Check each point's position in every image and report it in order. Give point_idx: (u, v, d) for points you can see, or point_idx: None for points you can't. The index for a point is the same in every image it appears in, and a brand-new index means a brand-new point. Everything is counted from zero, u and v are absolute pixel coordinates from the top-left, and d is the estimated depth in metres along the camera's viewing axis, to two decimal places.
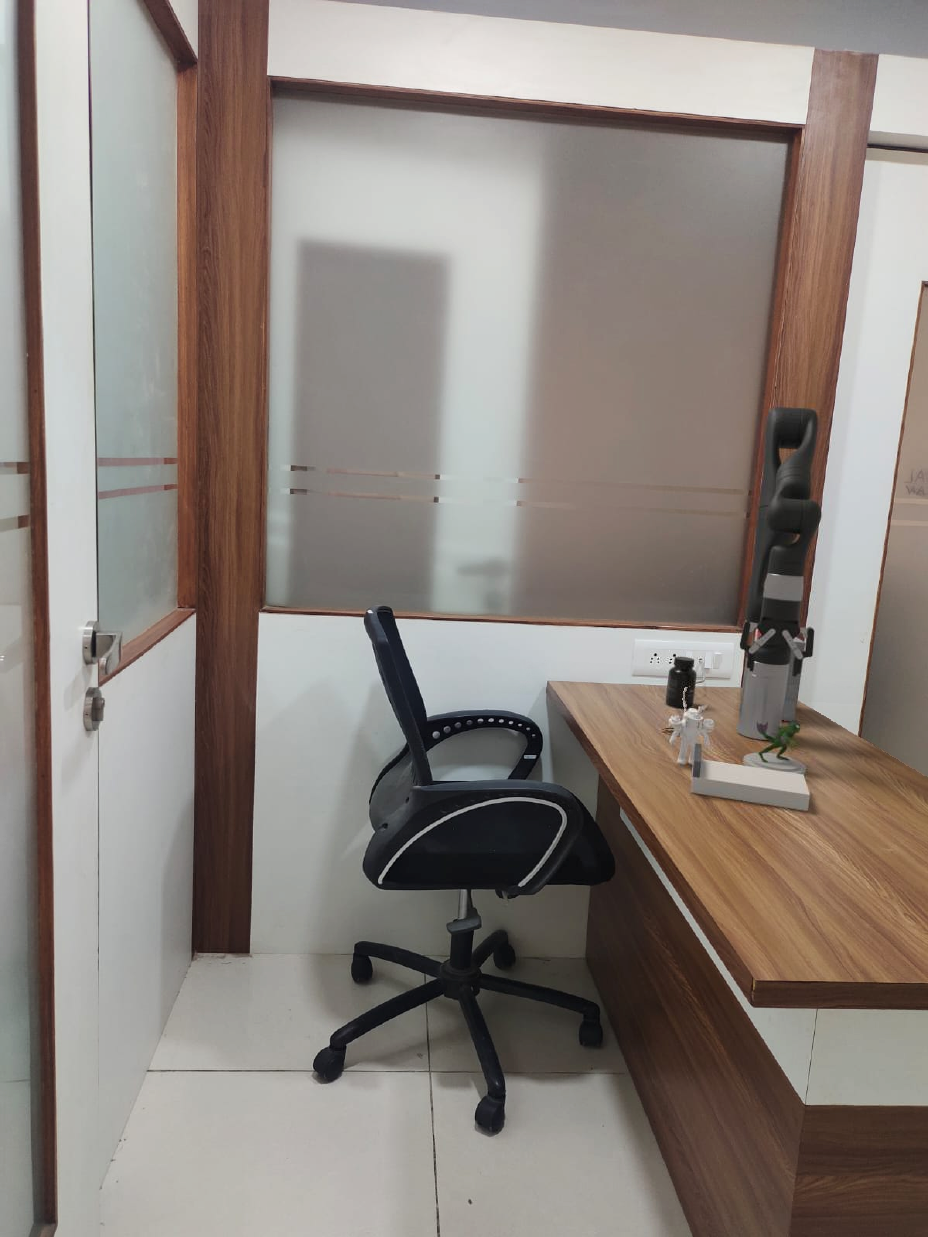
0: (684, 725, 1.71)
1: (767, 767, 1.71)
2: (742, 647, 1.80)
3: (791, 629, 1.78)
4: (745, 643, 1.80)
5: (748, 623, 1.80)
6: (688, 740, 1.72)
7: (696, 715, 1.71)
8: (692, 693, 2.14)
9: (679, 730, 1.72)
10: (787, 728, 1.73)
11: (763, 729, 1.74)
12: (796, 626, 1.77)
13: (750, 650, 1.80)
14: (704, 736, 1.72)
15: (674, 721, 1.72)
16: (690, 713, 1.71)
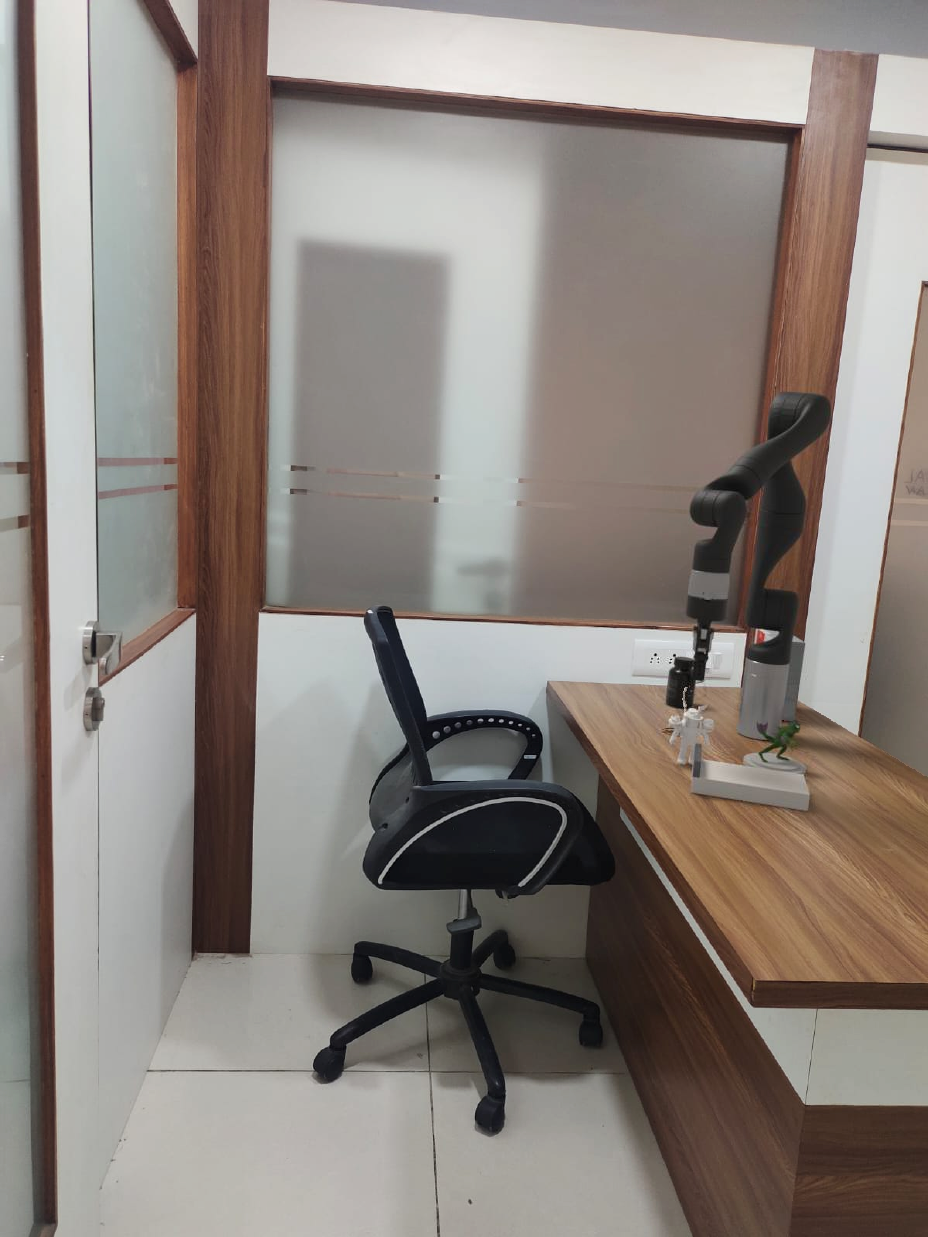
0: (684, 725, 1.71)
1: (767, 767, 1.71)
2: (707, 658, 1.63)
3: None
4: None
5: None
6: (688, 740, 1.72)
7: (696, 715, 1.71)
8: (692, 693, 2.14)
9: (679, 730, 1.72)
10: (787, 728, 1.73)
11: (763, 729, 1.74)
12: None
13: None
14: (704, 736, 1.72)
15: (674, 721, 1.72)
16: (690, 713, 1.71)
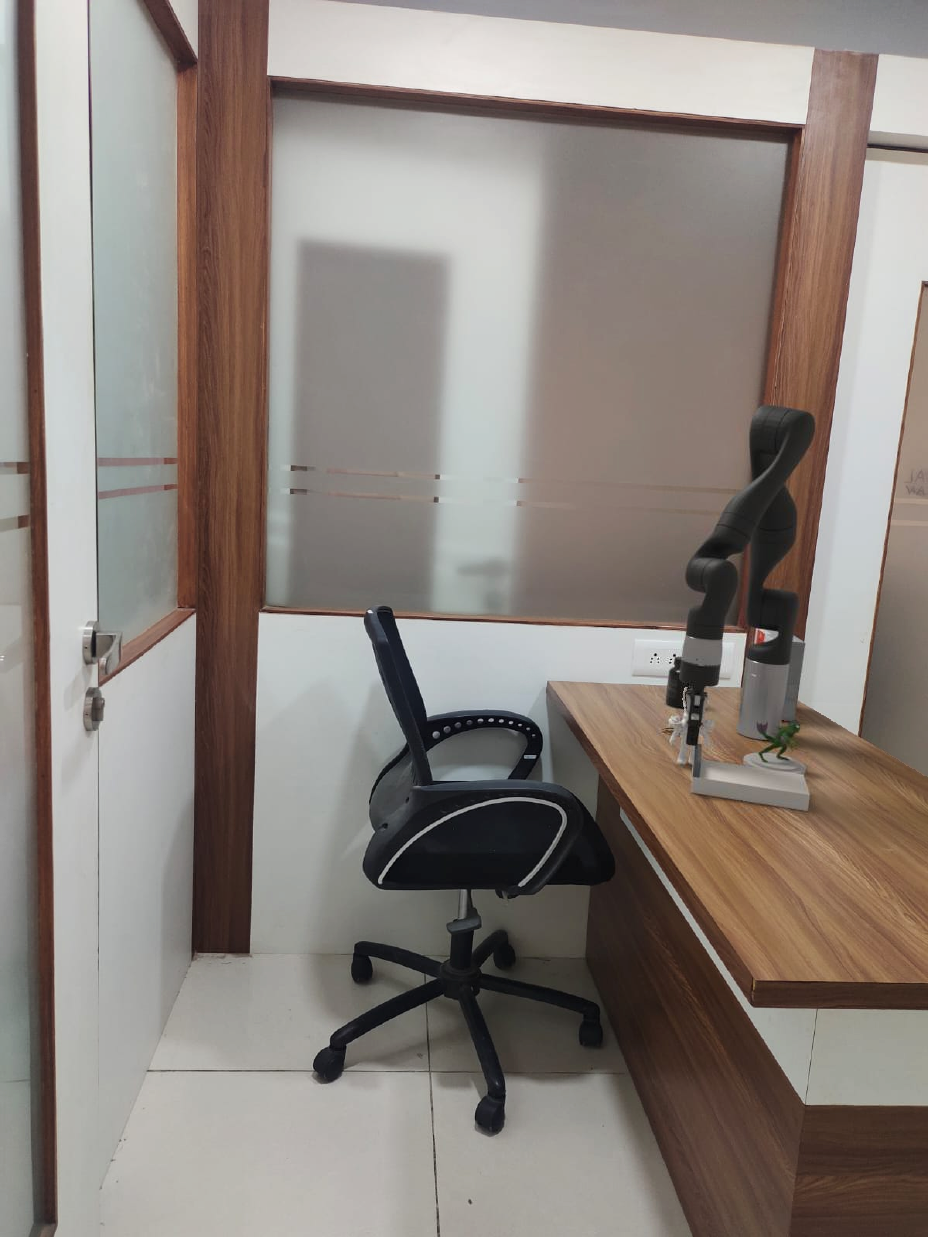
0: (684, 725, 1.71)
1: (767, 767, 1.71)
2: (701, 724, 1.65)
3: None
4: None
5: None
6: None
7: None
8: None
9: (679, 730, 1.72)
10: (787, 728, 1.73)
11: (763, 729, 1.74)
12: None
13: None
14: (704, 736, 1.72)
15: (674, 721, 1.72)
16: None
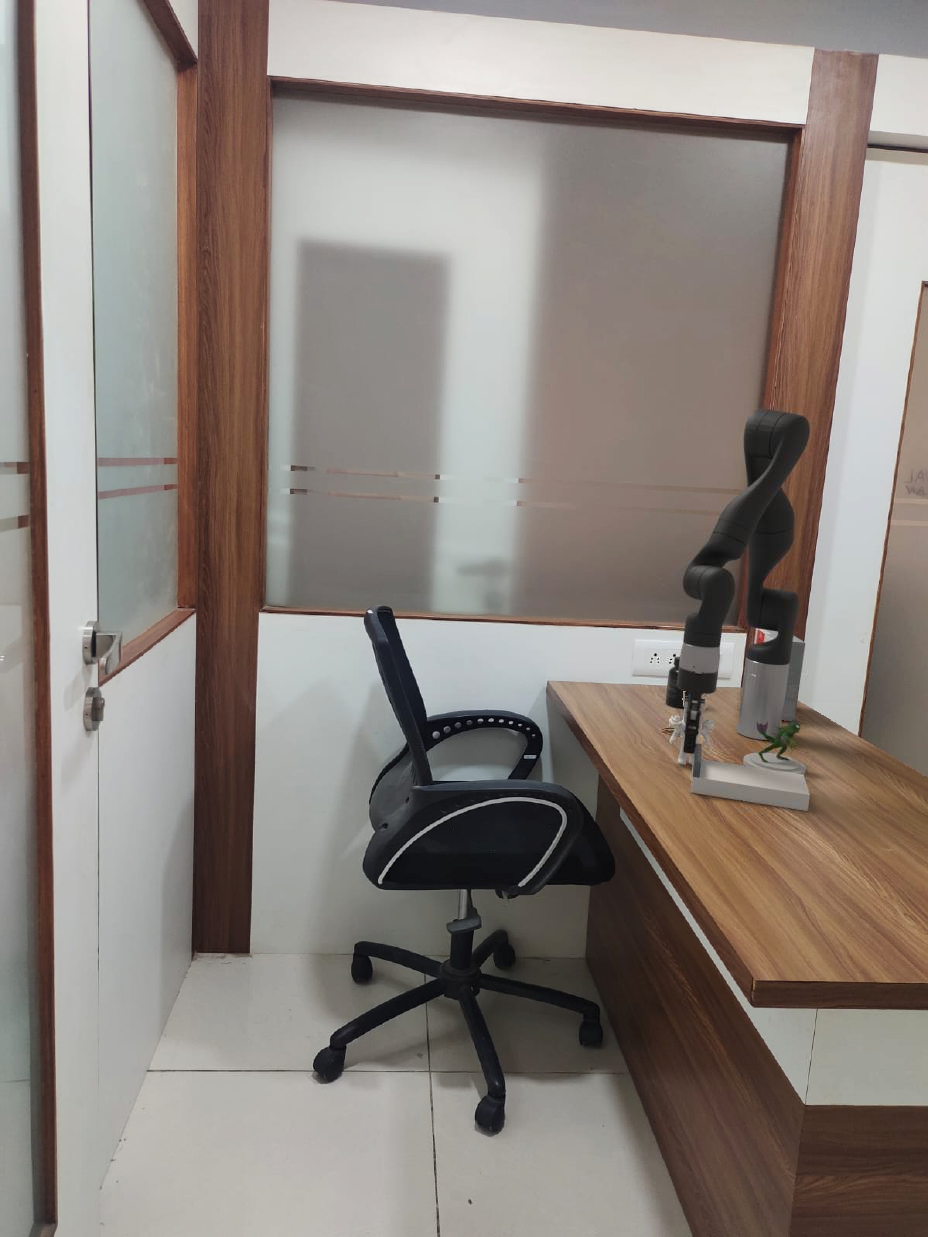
0: (684, 725, 1.71)
1: (767, 767, 1.71)
2: (697, 733, 1.68)
3: None
4: None
5: (700, 712, 1.66)
6: None
7: None
8: None
9: (679, 730, 1.72)
10: (787, 728, 1.73)
11: (763, 729, 1.74)
12: None
13: None
14: (704, 736, 1.72)
15: (674, 721, 1.72)
16: None
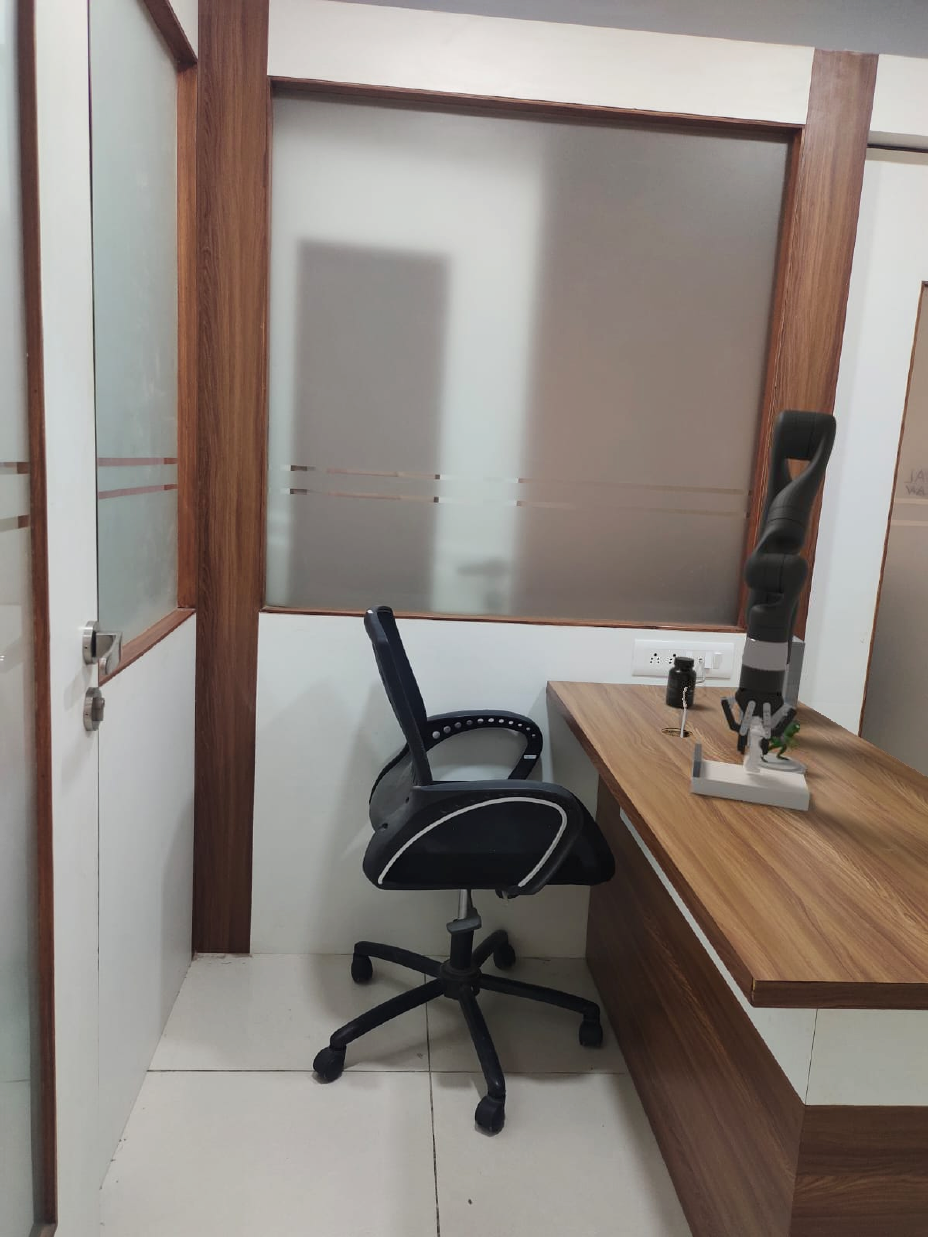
0: None
1: (767, 767, 1.71)
2: None
3: None
4: None
5: None
6: None
7: None
8: (692, 693, 2.14)
9: None
10: (787, 728, 1.73)
11: None
12: None
13: None
14: None
15: (764, 730, 1.54)
16: None
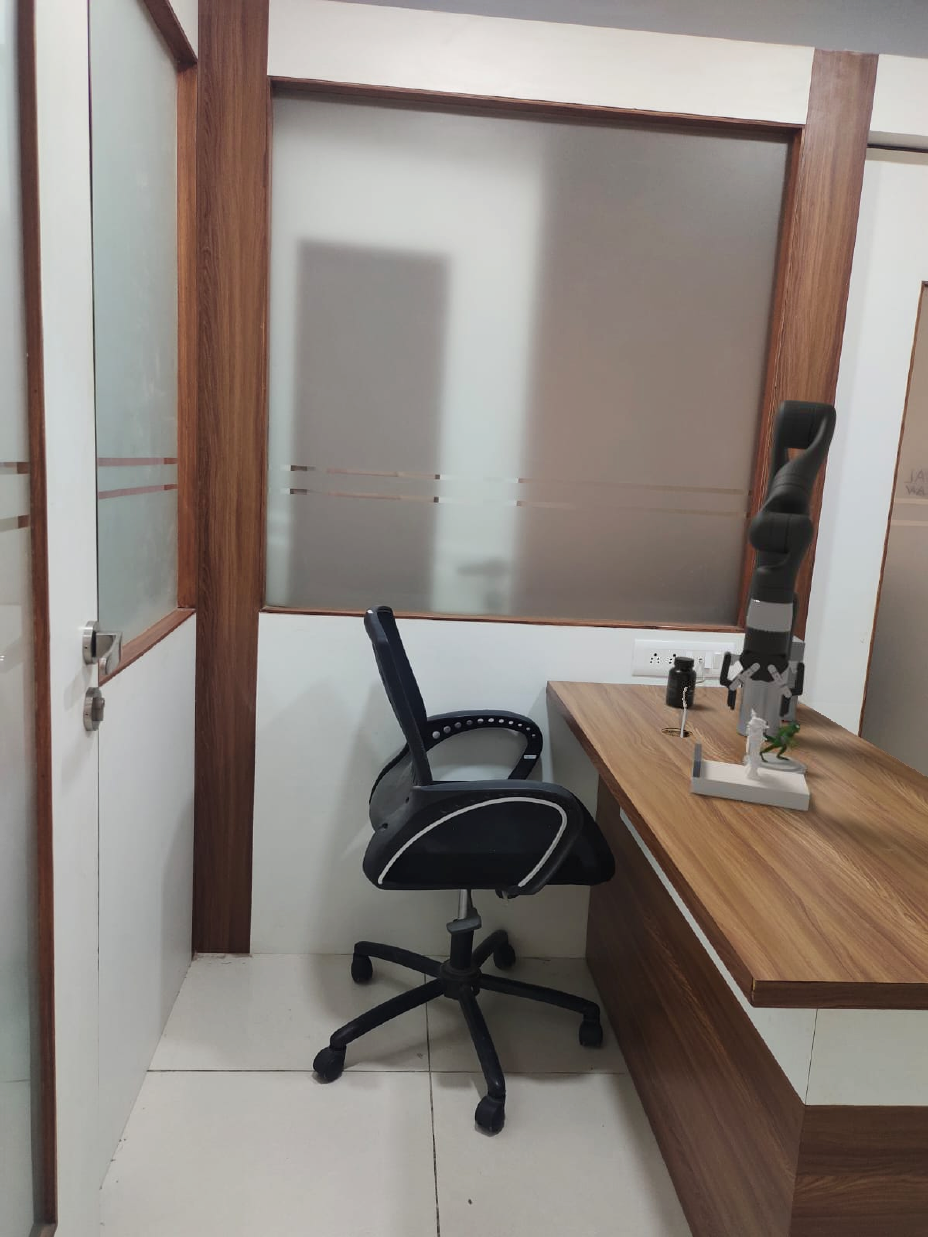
0: None
1: (767, 767, 1.71)
2: None
3: None
4: None
5: None
6: (758, 751, 1.58)
7: (765, 722, 1.58)
8: (692, 693, 2.14)
9: None
10: (787, 728, 1.73)
11: None
12: None
13: None
14: None
15: (763, 737, 1.54)
16: (762, 723, 1.57)
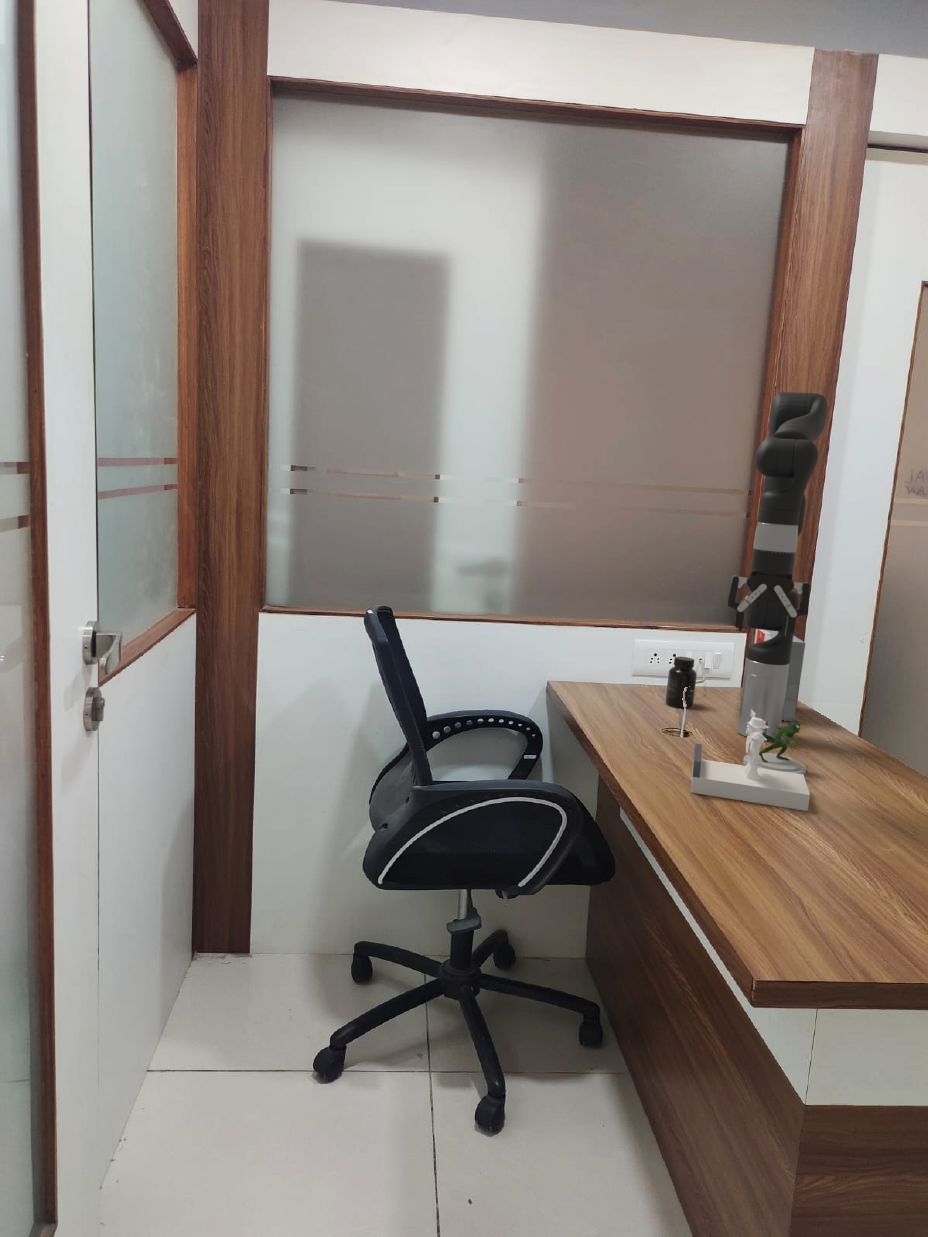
0: None
1: (767, 767, 1.71)
2: None
3: None
4: None
5: None
6: (758, 751, 1.58)
7: (764, 722, 1.58)
8: (692, 693, 2.14)
9: None
10: (787, 728, 1.73)
11: None
12: None
13: None
14: None
15: (763, 738, 1.54)
16: (761, 723, 1.57)
